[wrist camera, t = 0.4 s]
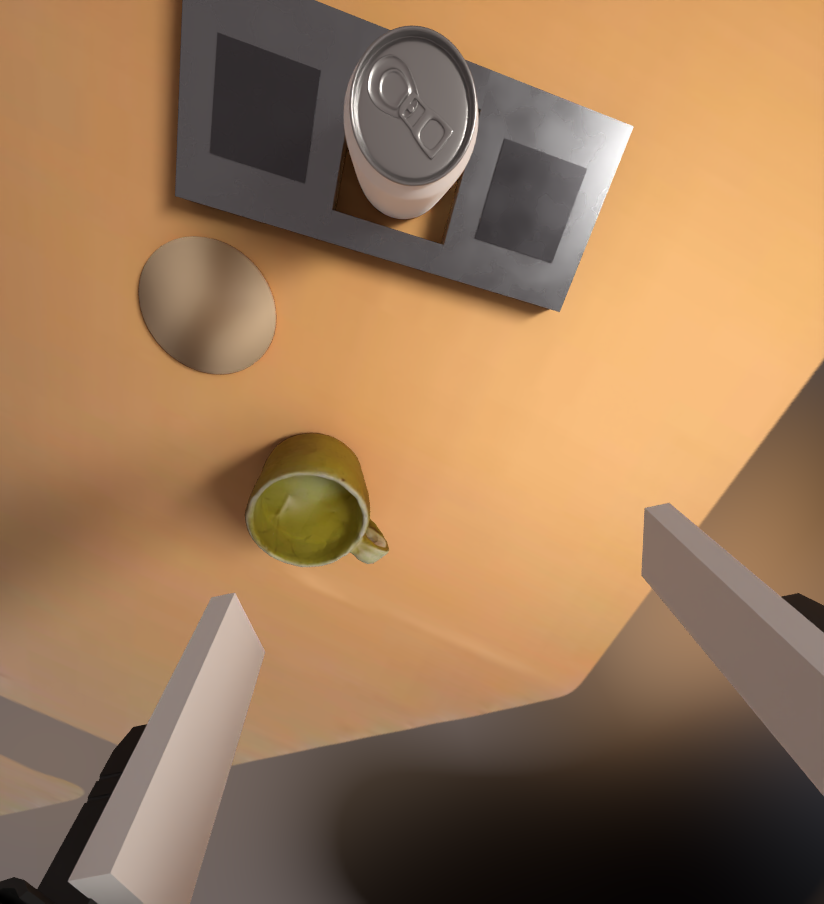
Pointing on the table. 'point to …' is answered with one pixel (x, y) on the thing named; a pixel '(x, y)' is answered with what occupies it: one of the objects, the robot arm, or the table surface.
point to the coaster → (207, 305)
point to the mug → (313, 504)
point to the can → (410, 120)
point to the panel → (324, 147)
